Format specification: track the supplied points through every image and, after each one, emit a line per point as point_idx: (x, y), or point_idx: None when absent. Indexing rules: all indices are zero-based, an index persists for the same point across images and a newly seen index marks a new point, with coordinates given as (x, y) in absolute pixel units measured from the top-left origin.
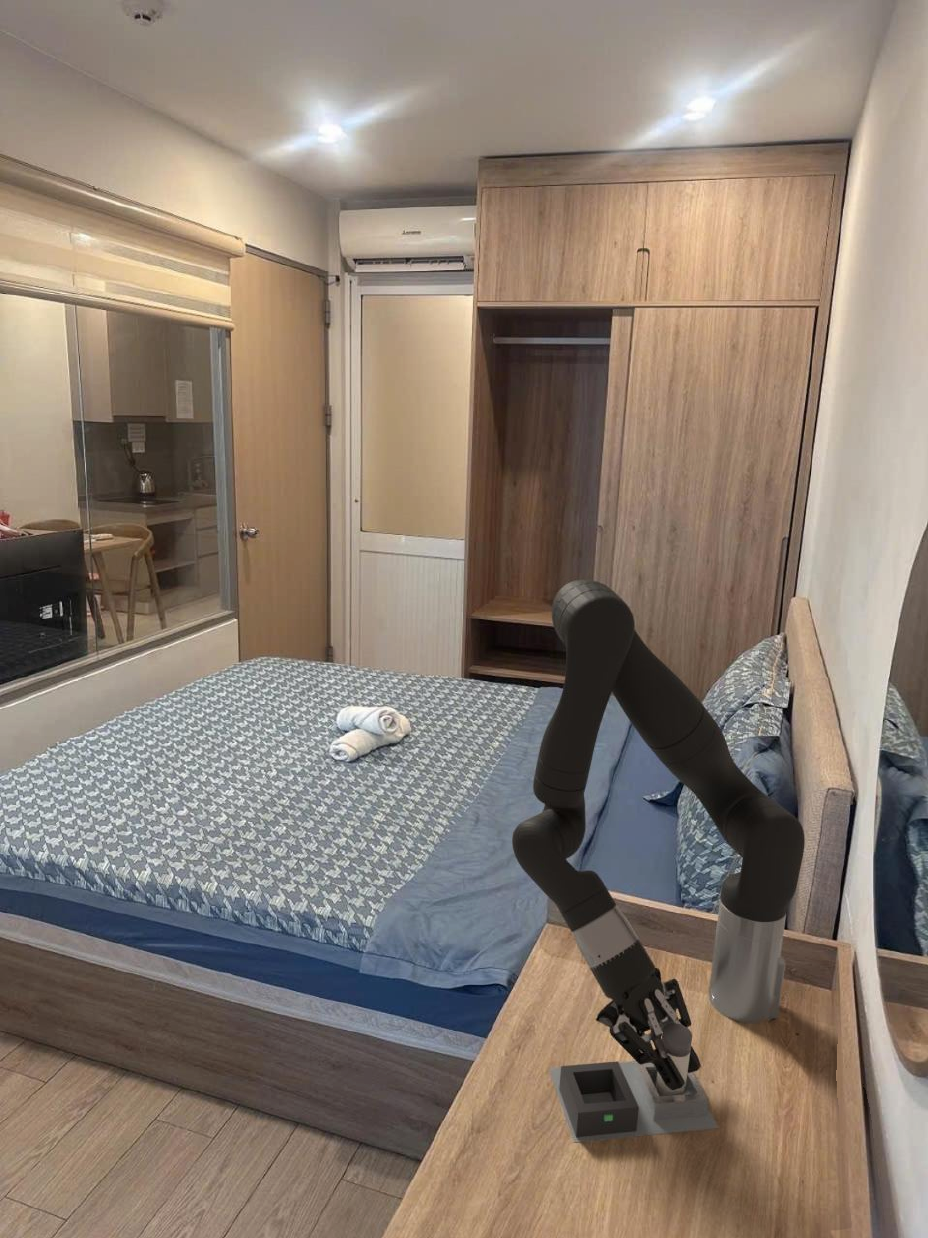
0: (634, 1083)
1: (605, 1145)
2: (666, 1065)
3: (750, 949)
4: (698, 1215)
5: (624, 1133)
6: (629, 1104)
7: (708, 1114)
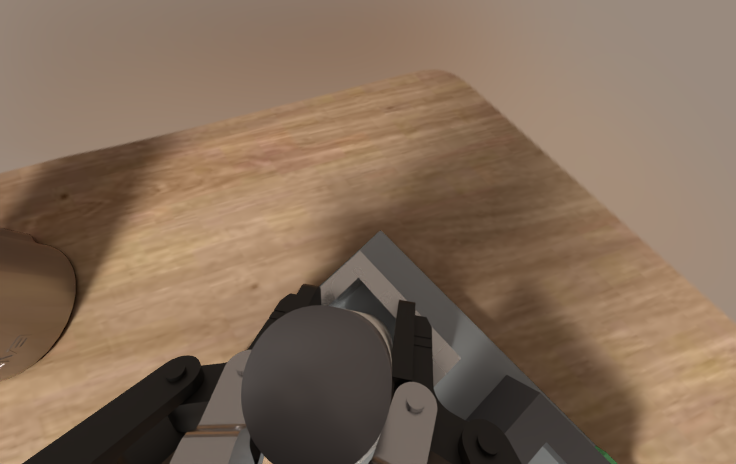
0: None
1: None
2: (418, 369)
3: None
4: (571, 205)
5: None
6: (553, 424)
7: None
